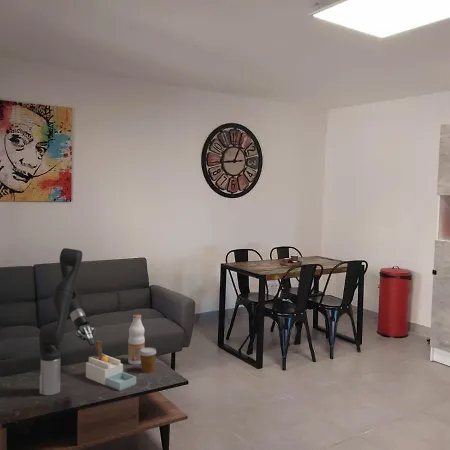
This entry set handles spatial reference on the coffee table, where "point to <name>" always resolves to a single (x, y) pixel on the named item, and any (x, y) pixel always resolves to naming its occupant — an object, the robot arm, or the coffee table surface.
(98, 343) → the plunger
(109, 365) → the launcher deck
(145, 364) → the disposable coffee cup
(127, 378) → the bin
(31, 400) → the coffee table surface
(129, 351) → the fruit juice
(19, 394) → the coffee table surface
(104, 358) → the ball
